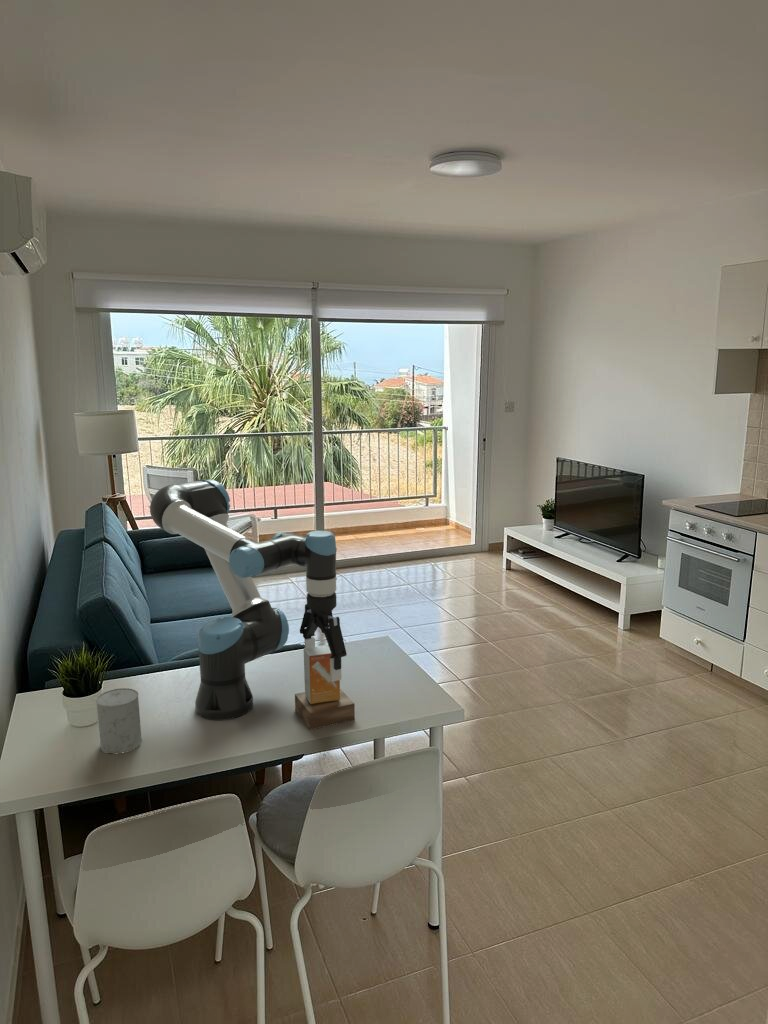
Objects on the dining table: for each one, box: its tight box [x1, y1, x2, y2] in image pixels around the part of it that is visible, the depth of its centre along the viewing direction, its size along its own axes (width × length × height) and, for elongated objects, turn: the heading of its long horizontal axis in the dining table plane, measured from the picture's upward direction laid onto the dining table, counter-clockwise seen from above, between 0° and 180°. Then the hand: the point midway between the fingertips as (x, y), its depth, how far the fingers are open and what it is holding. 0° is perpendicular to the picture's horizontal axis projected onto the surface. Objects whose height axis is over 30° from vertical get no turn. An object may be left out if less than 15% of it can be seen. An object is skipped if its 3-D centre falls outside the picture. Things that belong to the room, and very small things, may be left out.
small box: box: [303, 645, 341, 704], centre depth 189 cm, size 8×6×13 cm
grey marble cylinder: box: [95, 687, 143, 755], centre depth 175 cm, size 10×10×12 cm
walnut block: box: [294, 688, 356, 730], centre depth 190 cm, size 12×12×5 cm
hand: (322, 670), depth 188 cm, fingers open, 13 cm apart
